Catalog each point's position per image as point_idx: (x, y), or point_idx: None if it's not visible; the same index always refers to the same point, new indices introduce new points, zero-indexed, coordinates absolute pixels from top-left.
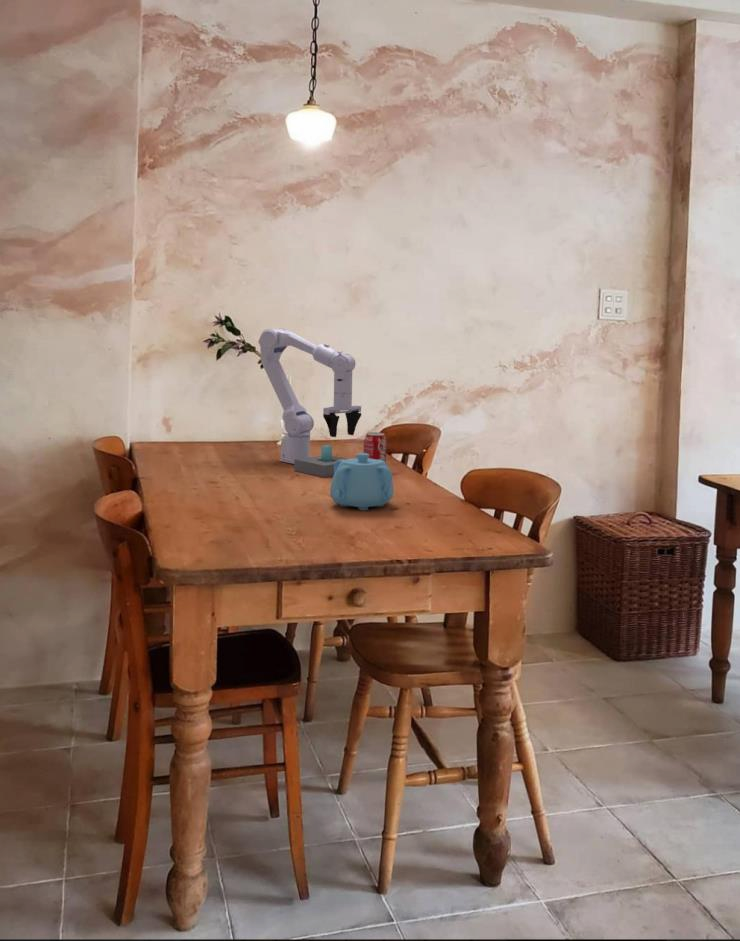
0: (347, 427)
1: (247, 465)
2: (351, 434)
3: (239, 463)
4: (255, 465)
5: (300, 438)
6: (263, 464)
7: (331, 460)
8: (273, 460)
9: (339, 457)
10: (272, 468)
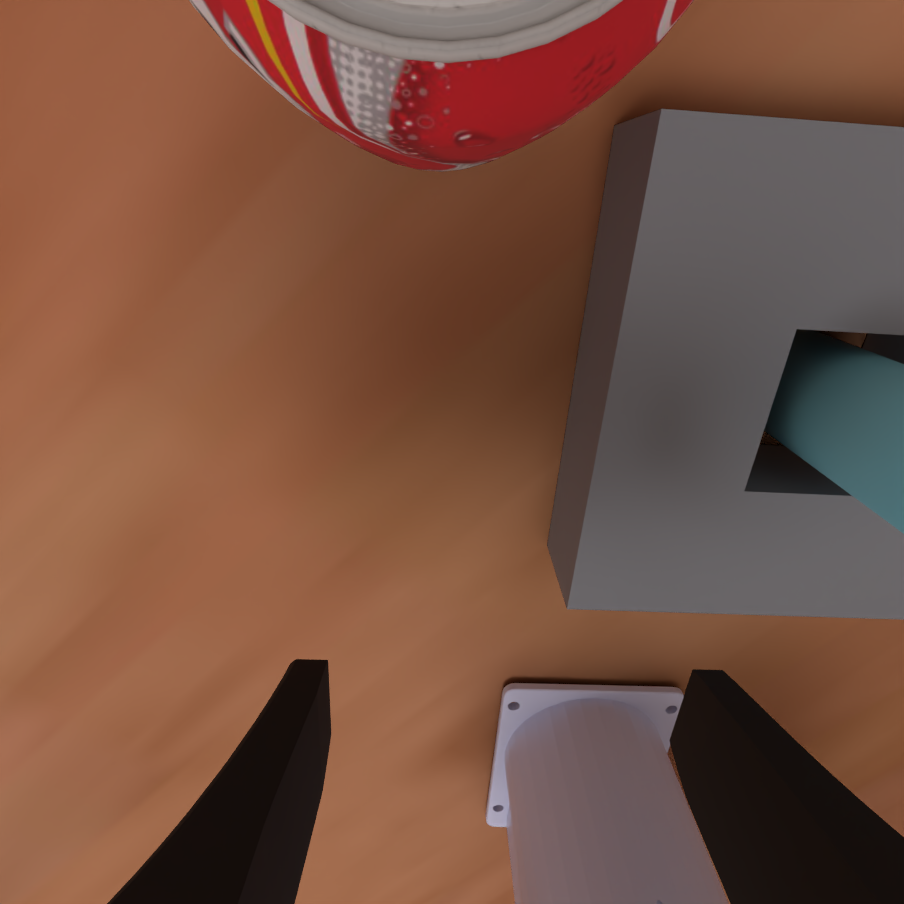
0: (302, 866)
1: (879, 815)
2: (326, 682)
3: None
4: None
5: None
6: None
7: (856, 360)
8: None
9: (606, 453)
10: (890, 691)
